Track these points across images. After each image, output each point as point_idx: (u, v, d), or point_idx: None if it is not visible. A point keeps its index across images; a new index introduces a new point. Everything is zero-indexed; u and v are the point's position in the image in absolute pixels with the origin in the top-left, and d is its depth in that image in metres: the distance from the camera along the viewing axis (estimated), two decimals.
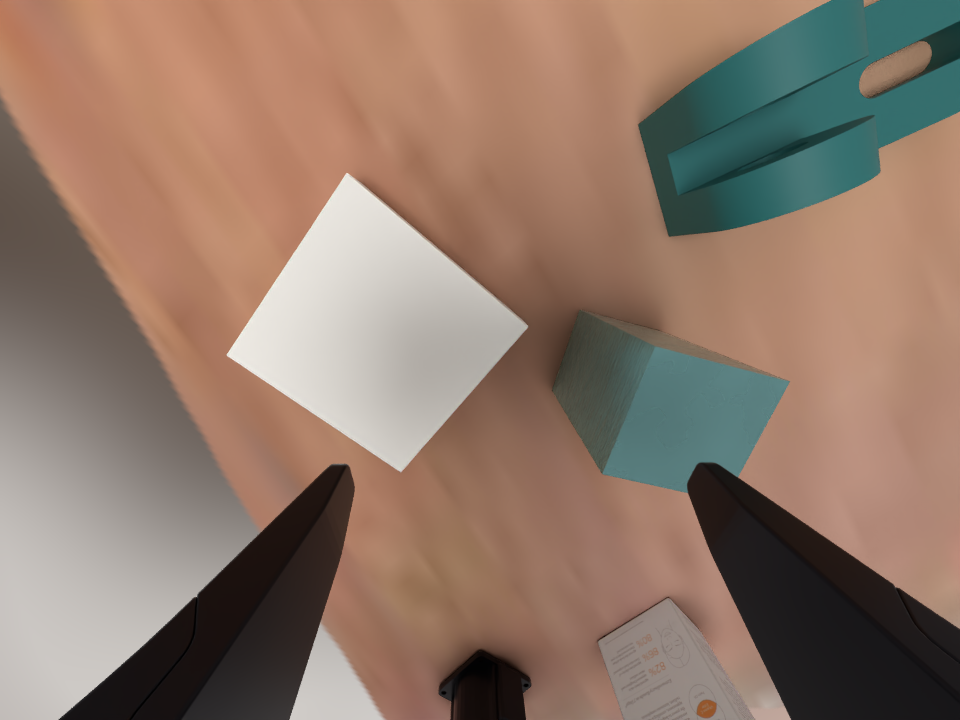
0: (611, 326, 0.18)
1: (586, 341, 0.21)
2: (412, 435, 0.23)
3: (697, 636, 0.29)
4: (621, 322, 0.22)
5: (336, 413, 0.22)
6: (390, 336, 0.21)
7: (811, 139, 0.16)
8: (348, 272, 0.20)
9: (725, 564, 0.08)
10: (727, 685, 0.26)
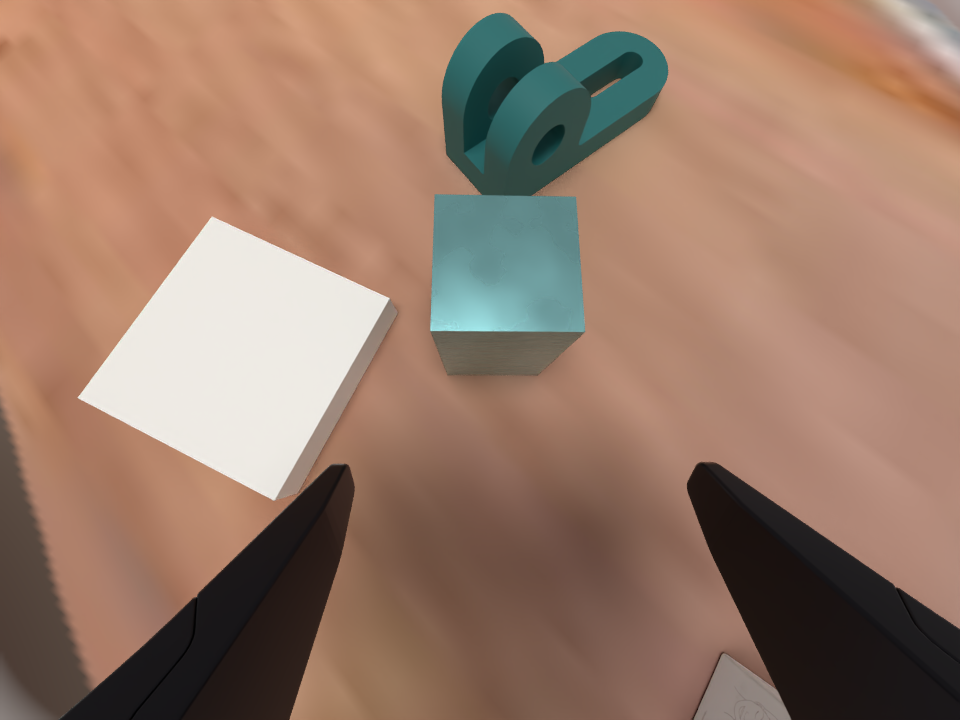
0: None
1: None
2: (285, 445, 0.19)
3: None
4: None
5: (195, 438, 0.19)
6: (253, 338, 0.21)
7: None
8: (211, 290, 0.21)
9: (725, 564, 0.08)
10: None
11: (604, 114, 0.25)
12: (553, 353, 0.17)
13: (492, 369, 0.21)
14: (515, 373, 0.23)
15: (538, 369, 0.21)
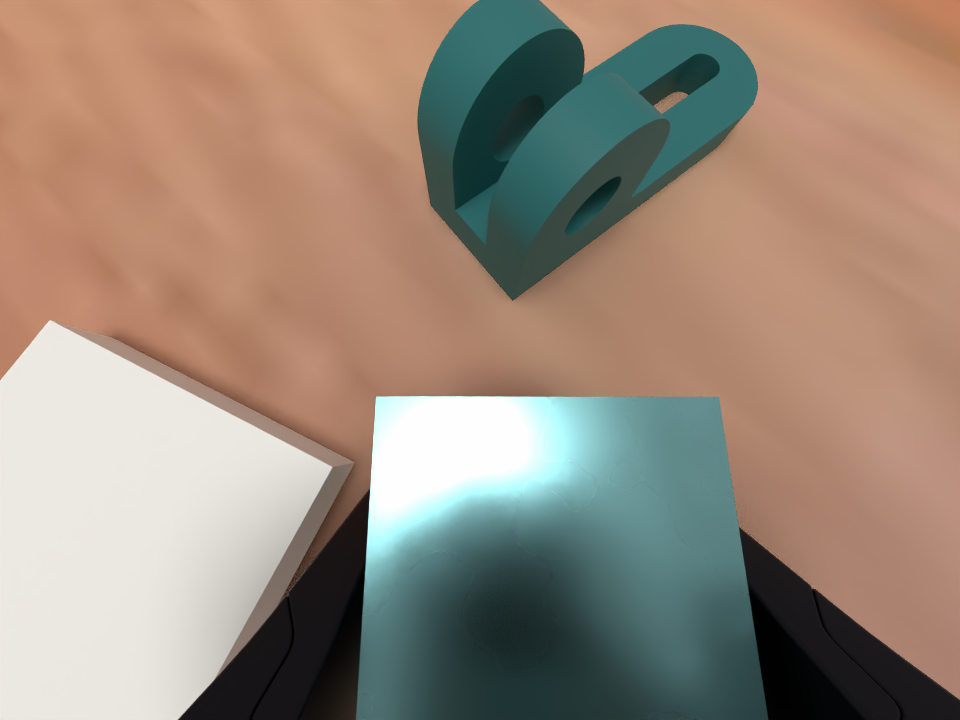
0: None
1: None
2: None
3: None
4: None
5: None
6: (95, 543, 0.12)
7: None
8: (33, 452, 0.13)
9: None
10: None
11: (668, 148, 0.17)
12: None
13: None
14: None
15: None
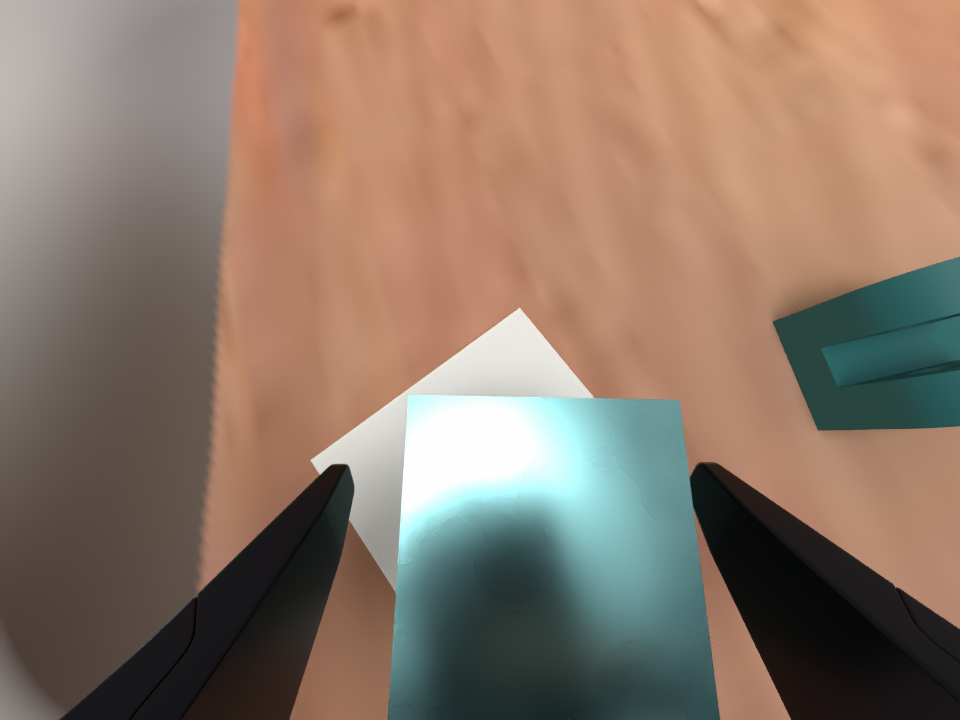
0: None
1: None
2: None
3: None
4: None
5: None
6: None
7: None
8: None
9: (725, 564, 0.08)
10: None
11: None
12: None
13: None
14: None
15: None
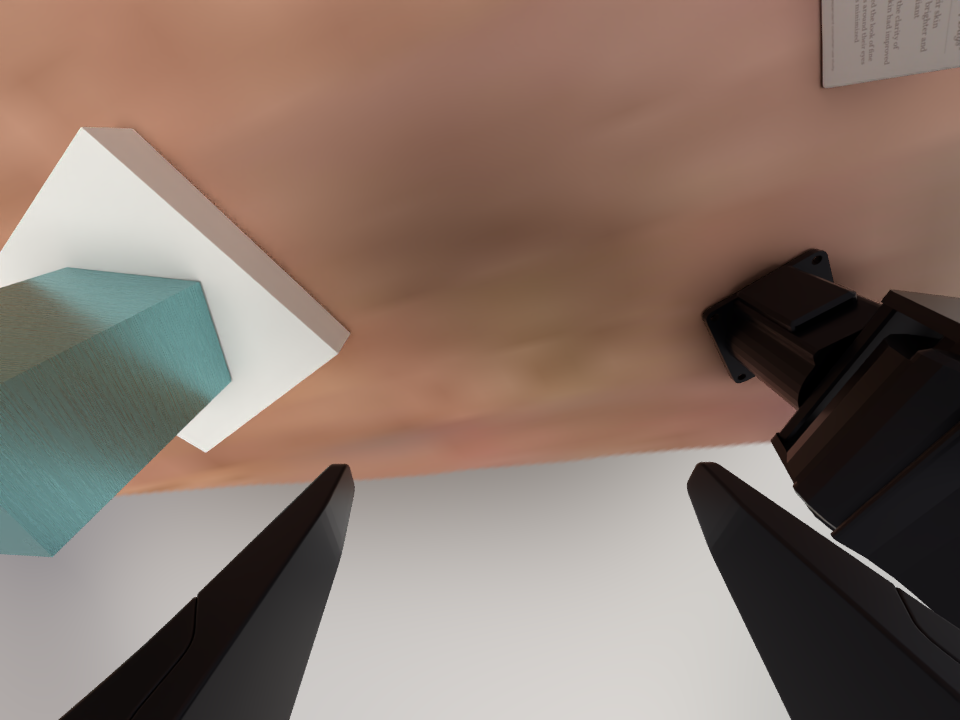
0: None
1: None
2: (285, 328, 0.18)
3: None
4: None
5: (259, 392, 0.21)
6: None
7: None
8: None
9: (725, 564, 0.08)
10: None
11: None
12: (74, 358, 0.12)
13: (189, 359, 0.17)
14: (199, 317, 0.17)
15: (168, 306, 0.15)
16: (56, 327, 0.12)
